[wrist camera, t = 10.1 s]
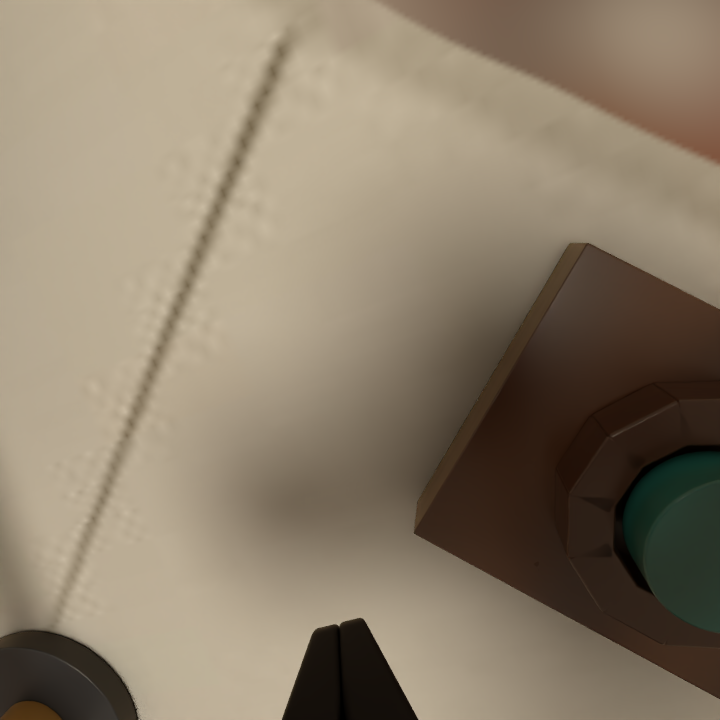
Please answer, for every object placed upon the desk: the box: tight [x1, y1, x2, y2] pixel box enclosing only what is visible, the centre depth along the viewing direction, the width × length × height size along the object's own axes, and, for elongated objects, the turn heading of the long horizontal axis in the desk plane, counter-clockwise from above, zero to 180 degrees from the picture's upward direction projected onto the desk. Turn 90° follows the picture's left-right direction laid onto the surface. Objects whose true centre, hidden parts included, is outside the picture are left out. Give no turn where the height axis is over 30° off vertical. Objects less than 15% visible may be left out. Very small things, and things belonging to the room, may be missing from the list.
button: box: [622, 451, 720, 633], centre depth 13 cm, size 4×4×2 cm
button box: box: [414, 243, 720, 699], centre depth 16 cm, size 12×10×4 cm
